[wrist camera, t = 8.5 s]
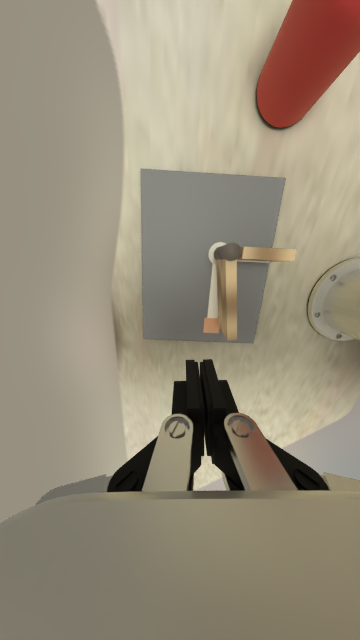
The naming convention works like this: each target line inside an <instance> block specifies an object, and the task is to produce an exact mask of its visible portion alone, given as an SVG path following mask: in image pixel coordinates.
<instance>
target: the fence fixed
mask: <svg viewBox="0 0 360 640" xmlns="http://www.w3.org/2000/svg"><path fill="white" fill-rule="evenodd" d="M240 248H241V254H240V256H239V258H238V259H237V260H252V261H294V260H295V256H296V252H297V249H278V248H260V247H240Z"/></svg>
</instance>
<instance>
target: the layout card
mask: <svg viewBox="0 0 360 640" xmlns="http://www.w3.org/2000/svg"><path fill="white" fill-rule="evenodd" d="M285 179H286V178H277V177H262V176H246V175H230V174H215V173H199V172H183V171H168V170H152V169H141V225H142V286H143V339H163V340H187V341H212V342H236V343H254V338H255V333H256V328H257V323H258V318H259V313H260V308H261V302H262V297H263V292H264V287H265V282H266V277H267V272H268V267H269V263H270V261H252V260H237V340H228V341H227V339H226V337H225V336H224V334H223V333H222V331H221V329H220V328H219V320H218V295H217V270H216V259H215V258H214V251H215V249H216V248H218V247H220V246H223V245H226V244H229V243H232V242H234V243H237V244H238V245H239V246H240V247H260V248H272V246H273V241H274V236H275V231H276V226H277V220H278V215H279V210H280V205H281V200H282V195H283V190H284V185H285Z"/></svg>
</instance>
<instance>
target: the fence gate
mask: <svg viewBox="0 0 360 640" xmlns="http://www.w3.org/2000/svg"><path fill="white" fill-rule="evenodd" d="M240 254H241V248H240V246H239V245H238V244H237V243H234V242H232V243H229V244H226V245H223V246H220V247H218V248H216V249H215V251H214V258H215V259H216V270H217V295H218V320H219V328H220V329H221V331H222V333H223V334H224V336H225V337H226V339H227V341H228V340H237V259H238V258H239V256H240Z"/></svg>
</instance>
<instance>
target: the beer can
mask: <svg viewBox="0 0 360 640" xmlns="http://www.w3.org/2000/svg"><path fill="white" fill-rule="evenodd" d="M359 52H360V0H293V1H292V3H291V5H290V8H289V10H288V12H287V14H286V17H285V19H284V21H283V24H282V26H281V28H280V30H279V33H278V35H277V37H276V40H275V42H274V44H273V46H272V49H271V51H270V53H269V56H268V58H267V60H266V62H265V65H264V67H263V69H262V72H261V74H260V76H259V81H258V86H257V104H258V107H259V110H260V113H261V115H262V116H263V118H264V119H265V120H266V122H268V123H269V124H271V125H272V126H274V127H281V128H283V127H287V126H291V125H293V124H295V123H296V122H298V121H299V120H301V119H302V118H303V117H304V115H305V114H306V113H307V112H308V111H309V110H310V108H311V107H312V106H313V105H314V104H315V103H316V102H317V100H318V99H319V98H320V97H321V96H322V95H323V93H324V92H325V91H326V90H327V89H328V88H329V86H330V85H331V84H332V83H333V82H334V81H335V80H336V78H337V77H338V76H339V75H340V74H341V73H342V71H343V70H344V69H345V68H346V67H347V66H348V64H349V63H350V62H351V61H352V60H353V59H354V58H355V56H356V55H357V54H358V53H359Z"/></svg>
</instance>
